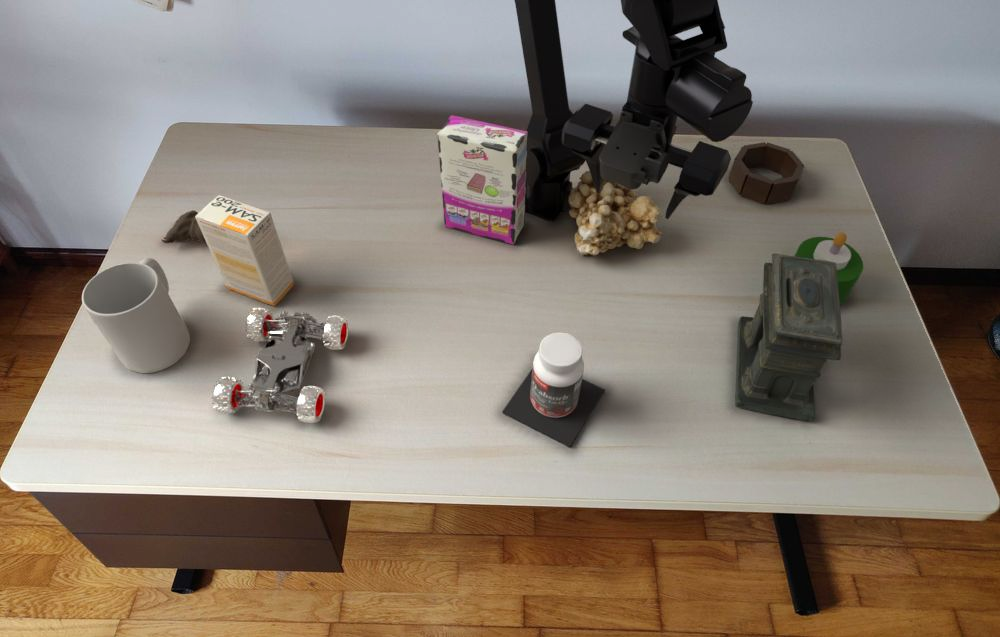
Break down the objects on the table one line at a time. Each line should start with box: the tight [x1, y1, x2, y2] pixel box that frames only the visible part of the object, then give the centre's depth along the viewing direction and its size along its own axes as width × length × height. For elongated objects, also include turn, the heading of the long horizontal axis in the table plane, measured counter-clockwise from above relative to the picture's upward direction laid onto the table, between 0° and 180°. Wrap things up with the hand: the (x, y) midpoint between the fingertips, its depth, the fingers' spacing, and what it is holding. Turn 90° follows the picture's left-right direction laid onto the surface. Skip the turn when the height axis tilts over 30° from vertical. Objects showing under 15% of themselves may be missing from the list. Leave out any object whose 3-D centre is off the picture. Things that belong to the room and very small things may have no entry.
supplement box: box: [195, 194, 295, 307], centre depth 90 cm, size 8×5×13 cm, turn 65°
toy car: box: [211, 307, 350, 424], centre depth 84 cm, size 15×12×5 cm
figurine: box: [160, 210, 207, 244], centre depth 99 cm, size 6×4×12 cm
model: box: [734, 253, 844, 422], centre depth 81 cm, size 14×9×15 cm, turn 168°
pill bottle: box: [530, 332, 585, 418], centre depth 79 cm, size 6×6×10 cm
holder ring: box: [727, 141, 805, 206], centre depth 108 cm, size 10×10×4 cm
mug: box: [81, 257, 191, 374], centre depth 85 cm, size 12×8×11 cm
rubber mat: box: [502, 367, 605, 449], centre depth 83 cm, size 9×9×1 cm
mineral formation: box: [568, 170, 663, 256], centre depth 100 cm, size 8×13×15 cm
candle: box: [794, 232, 864, 307], centre depth 92 cm, size 8×8×10 cm
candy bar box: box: [437, 114, 528, 245], centre depth 96 cm, size 11×5×16 cm, turn 69°
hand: (633, 204), depth 86 cm, fingers open, 9 cm apart
